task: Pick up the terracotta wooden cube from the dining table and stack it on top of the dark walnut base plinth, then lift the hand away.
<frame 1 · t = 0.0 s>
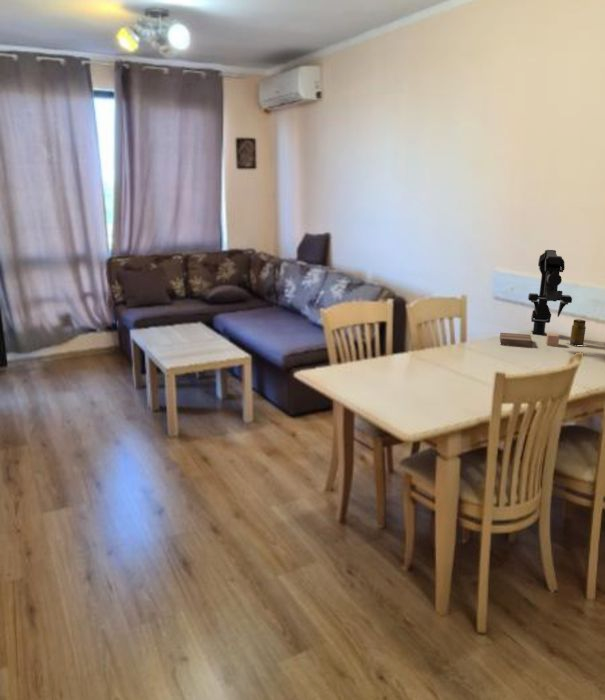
hand: (547, 316, 285), 15 cm above the table, fingers open, 9 cm apart
condiment: (577, 345, 292), on the table
base plinth: (515, 342, 294), on the table
cube: (551, 344, 291), on the table
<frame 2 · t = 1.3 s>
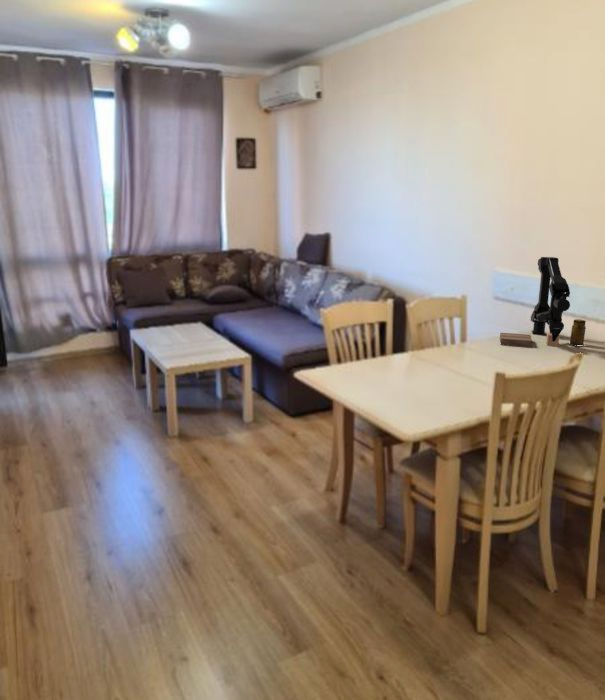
hand: (552, 339, 291), 3 cm above the table, fingers open, 9 cm apart
nothing on the table moved.
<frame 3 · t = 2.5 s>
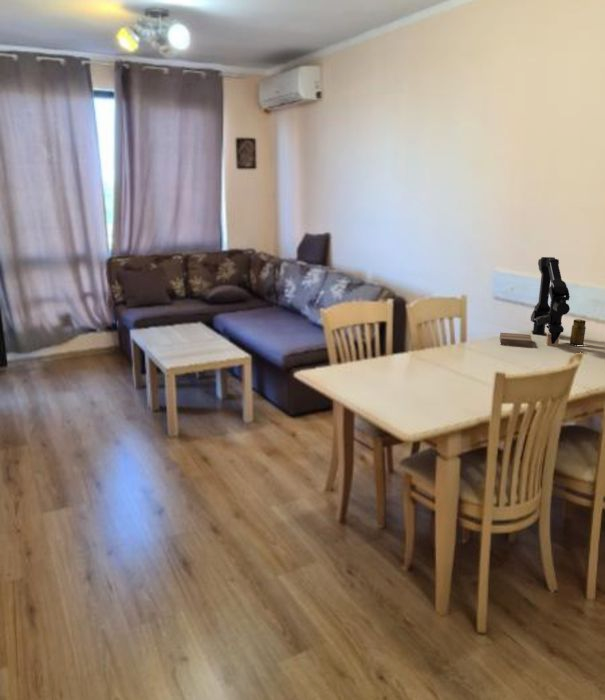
hand: (552, 342, 291), 1 cm above the table, fingers closed on cube, 5 cm apart
cube: (551, 344, 291), on the table, touching gripper
everything else where it was.
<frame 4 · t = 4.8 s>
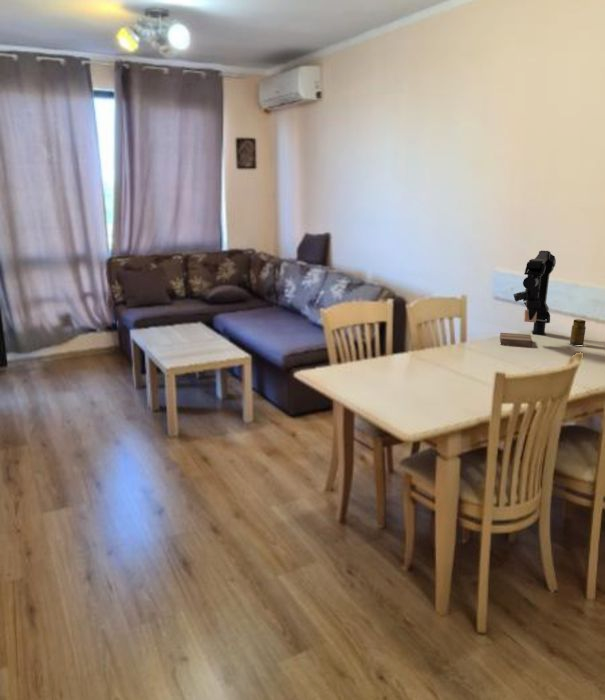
hand: (529, 318, 290), 12 cm above the table, fingers closed on cube, 5 cm apart
cube: (529, 321, 290), point 11 cm above the table, touching gripper
everything else where it was.
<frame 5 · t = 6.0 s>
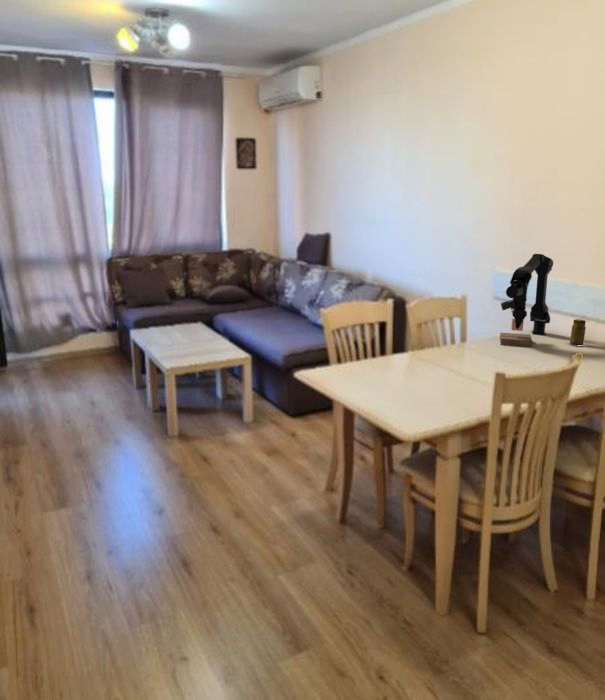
hand: (516, 327, 292), 8 cm above the table, fingers closed on cube, 5 cm apart
cube: (516, 329, 292), point 7 cm above the table, touching gripper
everything else where it was.
when the fingers open (5 cm above the table, at t = 7.2 s): cube drops 1 cm, resting on base plinth.
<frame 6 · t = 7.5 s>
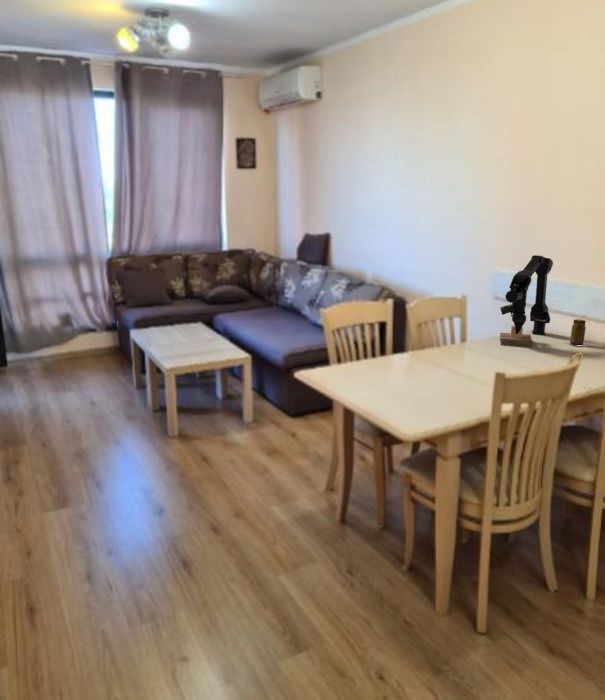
hand: (516, 331, 293), 5 cm above the table, fingers open, 8 cm apart
cube: (515, 336, 293), point 3 cm above the table, touching base plinth
everything else where it was.
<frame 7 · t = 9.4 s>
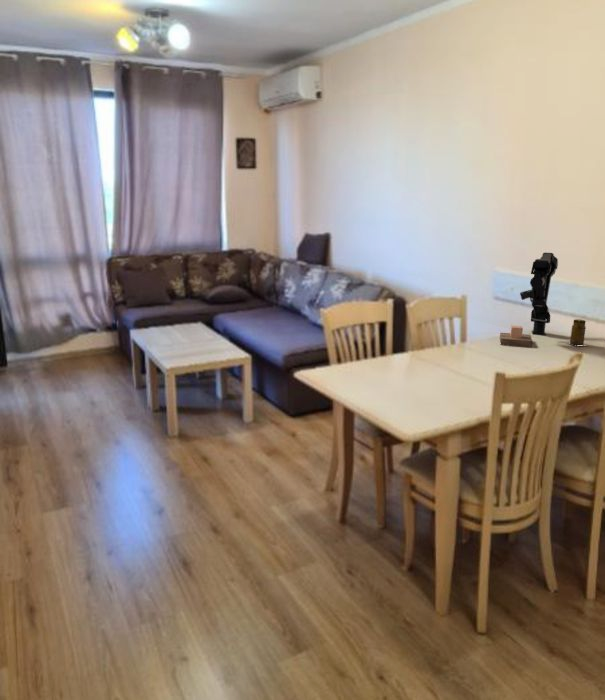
hand: (535, 316, 298), 12 cm above the table, fingers open, 9 cm apart
nothing on the table moved.
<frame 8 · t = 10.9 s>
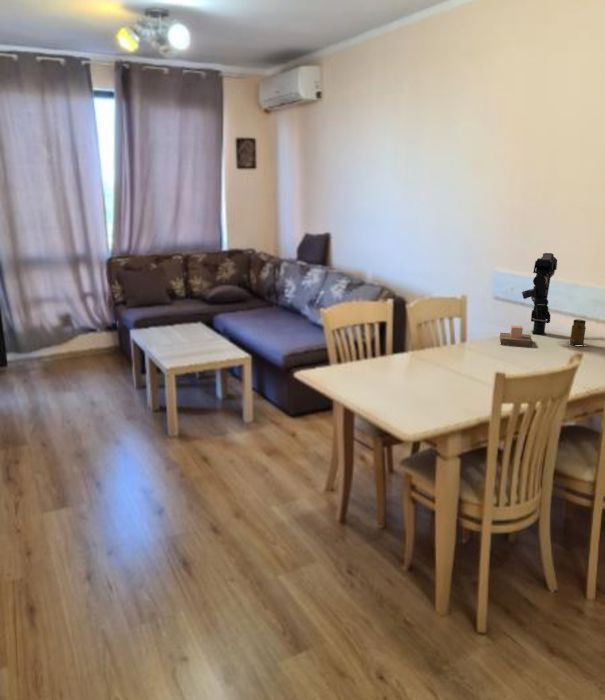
hand: (537, 315, 298), 12 cm above the table, fingers open, 9 cm apart
nothing on the table moved.
at the end: cube inside the target area on the base plinth (0.1 cm from its centre), point 3.0 cm above the base plinth's base; cube tilted 0°; the gripper is holding nothing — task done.
